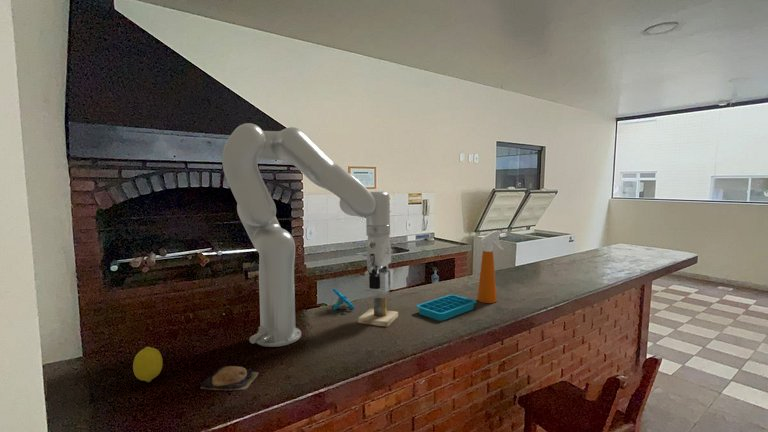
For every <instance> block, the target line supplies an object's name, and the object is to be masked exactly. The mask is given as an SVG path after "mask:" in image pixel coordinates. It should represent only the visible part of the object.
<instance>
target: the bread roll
mask: <svg viewBox="0 0 768 432" xmlns="http://www.w3.org/2000/svg"><path fill="white" fill-rule="evenodd" d="M259 374H260V373H259V372H257V371H252V368H249V369H246V367H243V366H237V365H235V366H234V365H228V366H222V367H219V368H218V369H217V370H215V371H214V373H213V374H212V375H211V376H208V377H207V378H206V379H205V380H204V381H203V382H201V384H200V385H201V386H200V387H199V388H200V389H202V390H213V391H216V390H217V391H241V390H242V391H245V390H247V389H248V388H249V386H250V385H251V384H252V383H253V382H254V380H255V379H256V378H257V377H258V375H259Z"/></svg>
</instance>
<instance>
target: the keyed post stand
mask: <svg viewBox="0 0 768 432" xmlns="http://www.w3.org/2000/svg"><path fill="white" fill-rule="evenodd" d="M387 303H388V300H387V298H385V297H383V296H375V297H373V308H372V307H371V308H369V309H368V310H366V311H365V312H364V313H362V314H360V315H359V317H358V318H357V324H365V325H371V326H372V325H373V326H378V327H386V328H388V327H389V326H390V325H391V324H392V323H393V322H394V321H395V320H397V318H398V317H399V311H394V310H387Z"/></svg>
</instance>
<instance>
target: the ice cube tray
mask: <svg viewBox="0 0 768 432" xmlns="http://www.w3.org/2000/svg"><path fill="white" fill-rule="evenodd" d="M477 301H478V300H476V299H471V298H468V297H465V296H460V295H456V294H448V295H444V296H441V297H437V298H435V299H431V300H429V301H425V302H423V303H419V304H416V306H415V307H416V308H418V311H419V312H418V313H419V314H420V315H422V316H423V317H427V318H430V319H433V320H436V321H440V322H442V321H446V320H448V319H451V318H454V317H457V316H459V315H462V314H465V313H466V312H469V311H473V310H474V304H476V303H477Z"/></svg>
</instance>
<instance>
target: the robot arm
mask: <svg viewBox="0 0 768 432" xmlns="http://www.w3.org/2000/svg"><path fill="white" fill-rule="evenodd" d="M221 157H222V159H221V160H222V161H221V162H222V163H221V164H222V170H223V173H224V176H225V178H226V181H227V183H228V186H229V188H230V190H231V192H232V195H233V197H234V199H235V202H236V203H237V204H236V211H237V215H238V217H239V219H240V222H241V224H242V225H243V227H244V229H245V231H246V233H247V236H248V238H249V239H250V242H251V243H252V244H251V245H252V246H253V247H254V249H255V250H256V252H257V253H258V255H259V257H258V261H259V262H258V263H259V264H258V287H259V289H258V290H259V291H258V292H259V315H260V316H259V317H260V319H259V320H260V323H259V324H260V326H258V328H257V329H258V331H257V333H255V334H254V335H251V336H250V337H249V343H251V344H257V345H259V346H261V347H266V348H267V347H268V348H269V347H270V348H274V347H275V348H276V347H283V346H288V345H291V344H294V343H296V342H297V341H299V339H301V337H302V331H301V329H299V328H298V327H296V304H295V303H296V299H295V298H296V297H295V294H296V293H295V291H296V290H295V289H296V288H295V262H296V260H295V259H296V243H295V239H294V237H293V235H292V234H291V233H290V232H289V231H288V230H287V229H284V228H282V227H281V224H280V222H279V220H278V218H277V216H276V215H277V207H276V203H275V201H274V199H273V198H272V196H271V194H270V192H269V190H268V187H267V185H266V184H265V181H264V179H263V176H262V175H261V172H260V169H259V165H258V161H259V160H267V161H279V160H280V161H281V160H282V161H284V160H285V161H286V160H288V161H289V162H290V163H291V164H292V165H293V166H294V167H296V168H297V169H298V170H299V171H300V172H301V173H302V174H303V175H304V176H305V177H306V178H307V179H308V180H309V181H310V182H312V183H313V184H314V185H316V186H318V187H320V188H322V189H325V190H327V191H329V192H330V193H332V194H333V195H335V196H337V197H338V198H339V207H340V209H341V211H342V212H343V213H344V214H346V215H347V216H352V217H353V216H354V217H359V218H365V222H366V223H365V224H366V225H365V226H366V227H365V228H366V229H365V230H366V234H365V235H366V236H367V243H366V244H367V246H366V263H367V265H366V268H367V271H368V272H369V288H371V289H379V276H378V273H379V268H386V269H389V265H390V264H391V263H392V246H391V237H390V236H391V219H390V217H391V214H390V213H391V211H390V210H391V209H390V206H391V205H390V204H391V203H390V202H391V201H390V200H391V199H390V194H389V193H388V192H387V191H370V190H369V189H367V188H366V186H365V185H363V184H362V182H361V181H359V180H358V179H357V178H356V177H355V176H354V175H352V174H351V173H349V172H348V171H346V170H345V169H343V167H341V166H340V165H339V164H337V163H335V162H334V161H333V160H332V159H331V158H329V156H328V155H327V154H325V152H324V151H323V150H321V149H320V148H319V146H318V145H317V144H315V142H313V141H312V140H311V138H309V136H308V135H306V133H304V132H303V131H302V130H300V129H299V128H297V127H293V126H290V127H286V128H284V129H282V130H278V131H277V130H263V129H262V128H261V127H260V126H258V124H254V123H251V122H249V123H248V122H247V123H246V122H245V123H242V124H240V125H238V126H237V127H236V128H235V129H234V130H233V131H232V133H231V134H230V135H229V137H228V138H227V140H226V142H225V145H224V148H223V150H222V156H221ZM374 269H376V272H375V270H374Z"/></svg>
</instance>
